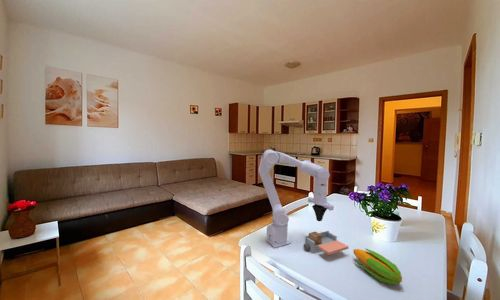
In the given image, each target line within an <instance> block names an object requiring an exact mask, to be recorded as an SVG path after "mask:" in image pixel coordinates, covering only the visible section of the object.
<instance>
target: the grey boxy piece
mask: <svg viewBox="0 0 500 300" xmlns="http://www.w3.org/2000/svg"><path fill="white" fill-rule="evenodd" d="M318 233H319V234H321V235H322V244H326V243H329V242H333V241H336V240H337V238H338V237H337V235H335V234H333V233H331V232H330V231H329V230H326V231H322V232H318ZM304 238H305V239H304V240H305V241H304V244H303V249H304V251H305V252H309V253H311V254H317V253H320V252H323V251H322V250H320V249H319V248H318V245H316V246H315V242H314V241H313V240H311V239H309V235H306V236H305V237H304ZM322 244H320V245H322Z"/></svg>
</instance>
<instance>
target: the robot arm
mask: <svg viewBox="0 0 500 300" xmlns="http://www.w3.org/2000/svg"><path fill="white" fill-rule="evenodd" d="M277 163H280V164H281V163H286V164H289V165H292V166H295V167H297V168H299V170H300V172H301V173H304V174H306V175H309V176H311V177H314V184H313V185H314V186H313V187H314V188H313V190H314V191H313V197H307V202H308V203H312V204H313V205H312V206H311V207H312V209H313V211H314V214H315V218H316V221H318V222H322V221H323V218H324V215H325V213H326V211H327V210H328V211H330V212H331V211H334V208H335V207H334V205H332V204H331V203H330V202H328V199H327V197H328V180H329V178H330V176H331V174H330V172H329V170H328V169H327V168H326V167H322V166H321V165H320V164H315V163H313V162H312V161H311V160H309V159H308V160H299V159H297V158H295V157H292V156H290V155H288V154H286V153H284V152H279V151H276V150H273V149H267V150H265V151H264V152H263V154H262V155H261V157H260V162H259V166H258V174H259V177H260V179H261V182H262V184H263V187H264V189H265V192H266V196H267V198H268V200H269V203H270V205H271V209H272V217H273V218H274V219H272V223H270V224H268V225H267V227H266V238H265V241H266V242H267V243H268V244H270V245H271V246H272V247H273V248H278V247H282V246H285V245H286V246H287V245H290V244H291V243H292V242H291V241H290V240H289V239H288V229H289V227H288V226H289V216H288V214H287V212H286V211H285V209H284V208H283V206H282V204H281V201H280V198H279V195H278V192H277V190H276V187H275V184H274V182H273V179H272V176H271V173H270V172H271V171H272V168H273V167H274V166H276V165H277Z"/></svg>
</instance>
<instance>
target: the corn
mask: <svg viewBox="0 0 500 300" xmlns="http://www.w3.org/2000/svg"><path fill="white" fill-rule="evenodd" d="M352 252H353V254H354V256H355V257H356V259H353V261H354V262H355V263H356V264H357V265H358V266H360V268H362V269H363V270H364V271H366V272H367V273H369V275H371V276H372V277H374V278H375V279H377V280H378V281H379V282H381V283H383V284H386V285H398V284H401V283H402V281H403V280H402V279H403V276H402V273H401V271H400V269H399V268H398V266H397V264H395V263H393V262H392V261H391V260H389V259H387V258H386V257H385V256H384V255H381V254H380V253H378V252H376V251H375V250H372V249H368V248H364V250H363V249H360V248H355V249H353V251H352ZM357 260H358V261H359V262H358V261H357ZM360 262H361V263H360Z"/></svg>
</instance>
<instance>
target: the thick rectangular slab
mask: <svg viewBox="0 0 500 300" xmlns="http://www.w3.org/2000/svg"><path fill="white" fill-rule="evenodd" d="M318 248H319V249H320V250H322V251H321V252H324V254H327V255H328V256H330V255H333V254H336V253H339V252H342V251H346V250H348V249H349V245H347V244H344V243H343V242H341V241H339V240H336V241H333V242H329V243H326V244H322V245H318Z"/></svg>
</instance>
